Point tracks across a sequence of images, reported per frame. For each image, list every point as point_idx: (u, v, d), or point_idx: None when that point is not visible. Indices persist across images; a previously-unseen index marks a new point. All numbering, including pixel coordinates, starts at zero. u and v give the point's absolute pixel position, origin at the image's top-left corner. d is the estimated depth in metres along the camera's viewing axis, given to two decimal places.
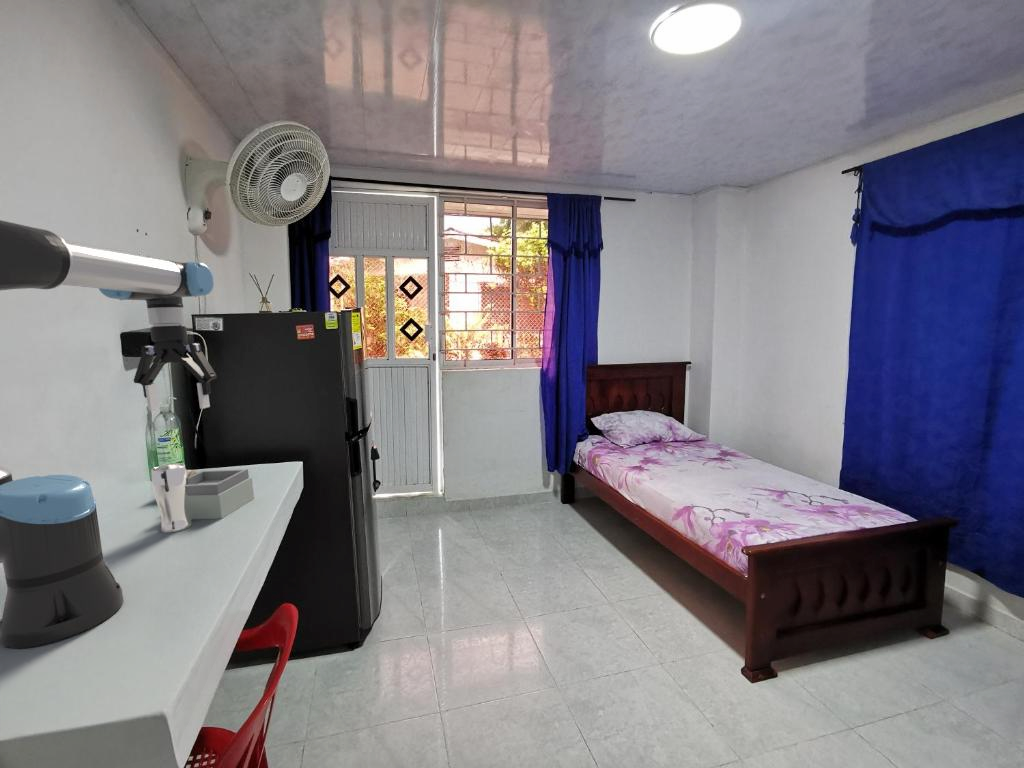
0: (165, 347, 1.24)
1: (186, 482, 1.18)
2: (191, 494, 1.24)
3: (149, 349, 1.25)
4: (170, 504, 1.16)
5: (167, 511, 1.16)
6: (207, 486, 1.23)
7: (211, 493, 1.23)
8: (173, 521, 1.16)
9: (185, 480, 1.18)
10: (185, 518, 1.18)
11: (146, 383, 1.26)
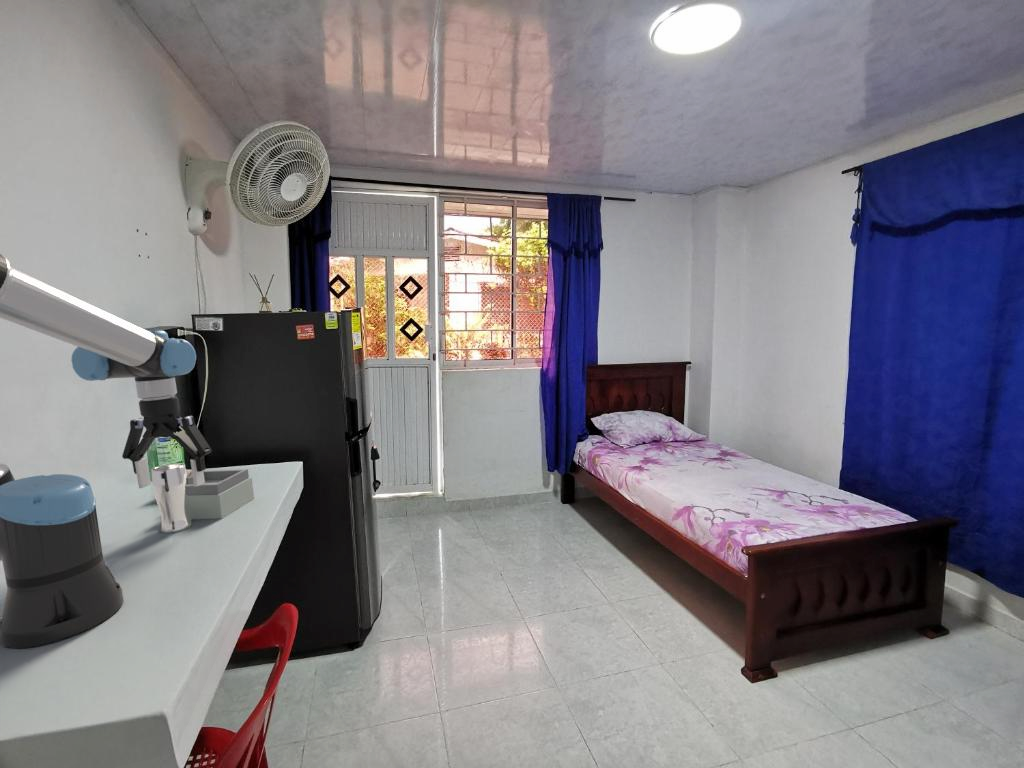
0: (155, 421, 1.15)
1: (186, 482, 1.18)
2: (191, 494, 1.24)
3: (138, 423, 1.16)
4: (170, 504, 1.16)
5: (167, 511, 1.16)
6: (207, 486, 1.23)
7: (211, 493, 1.23)
8: (173, 521, 1.16)
9: (185, 480, 1.18)
10: (185, 518, 1.18)
11: (136, 459, 1.17)
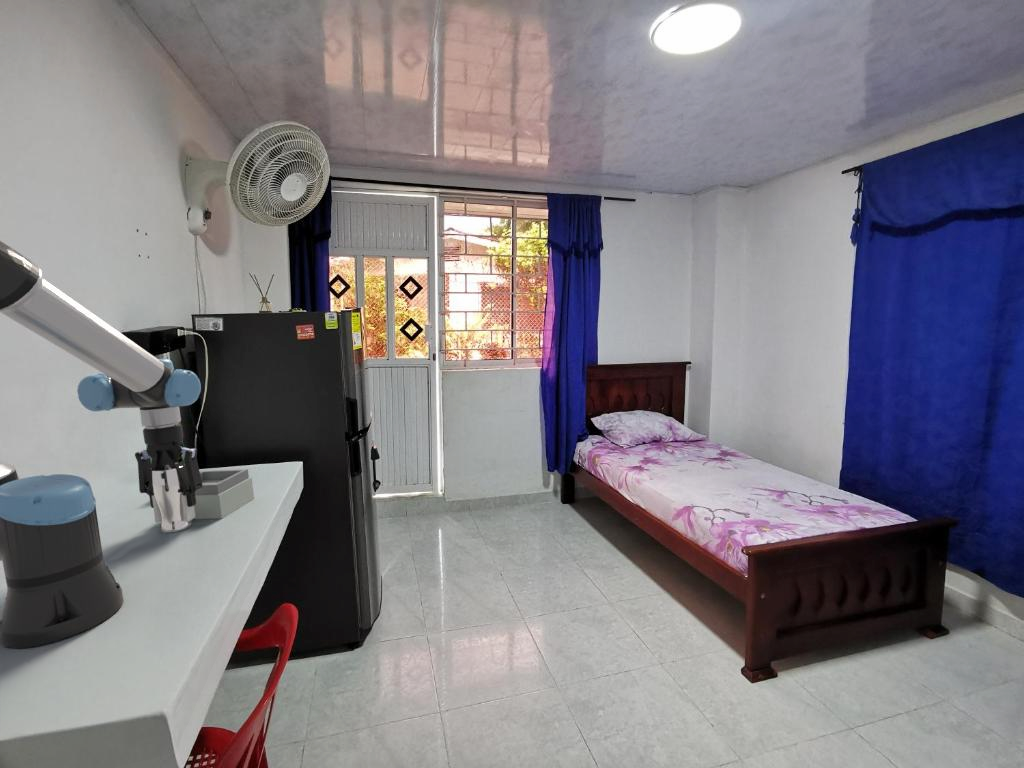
0: (157, 445, 1.15)
1: None
2: None
3: (143, 454, 1.17)
4: (170, 504, 1.16)
5: (167, 511, 1.16)
6: (207, 486, 1.23)
7: (211, 493, 1.23)
8: (173, 521, 1.16)
9: None
10: None
11: (153, 493, 1.17)
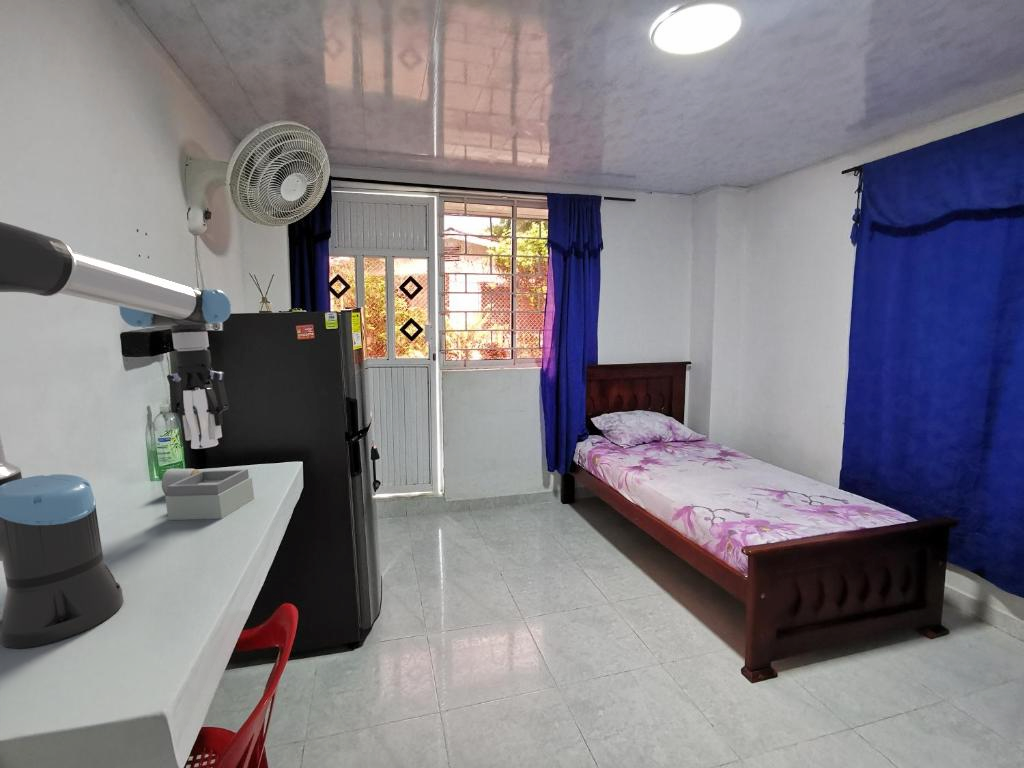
0: (188, 368, 1.25)
1: None
2: (191, 494, 1.24)
3: (174, 376, 1.26)
4: (200, 422, 1.25)
5: (197, 429, 1.25)
6: (207, 486, 1.23)
7: (211, 493, 1.23)
8: (202, 438, 1.26)
9: None
10: None
11: (183, 413, 1.27)
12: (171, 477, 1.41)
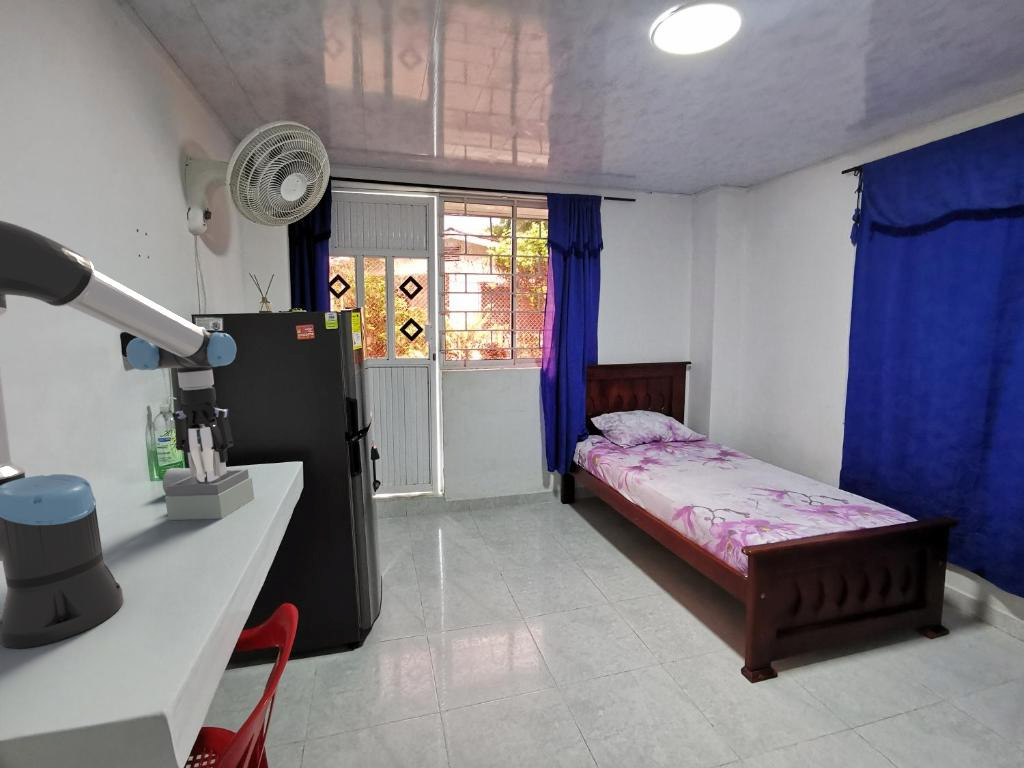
0: (193, 406, 1.26)
1: None
2: (191, 494, 1.24)
3: (180, 414, 1.27)
4: (205, 460, 1.26)
5: (202, 466, 1.27)
6: (207, 486, 1.23)
7: (211, 493, 1.23)
8: (207, 476, 1.27)
9: None
10: None
11: (188, 450, 1.28)
12: (172, 476, 1.41)
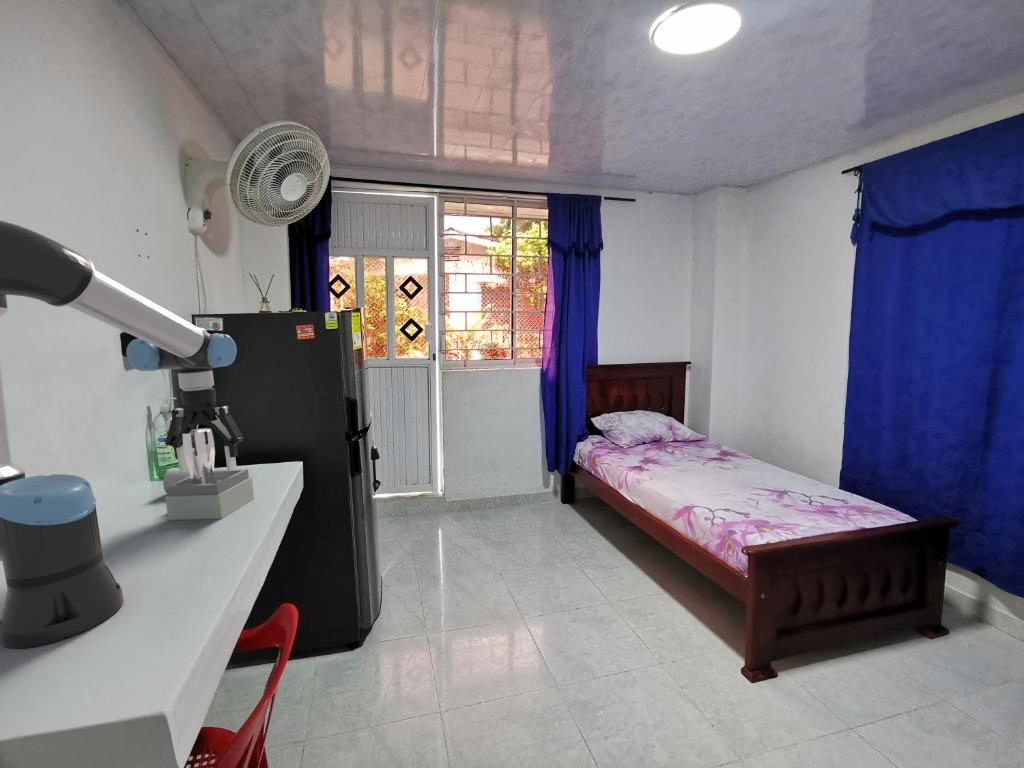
0: (194, 409, 1.26)
1: (213, 445, 1.29)
2: (191, 494, 1.24)
3: (179, 412, 1.27)
4: (199, 465, 1.26)
5: (196, 471, 1.27)
6: (207, 486, 1.23)
7: (211, 493, 1.23)
8: (201, 480, 1.27)
9: (212, 443, 1.29)
10: (212, 478, 1.29)
11: (177, 445, 1.28)
12: (173, 476, 1.42)
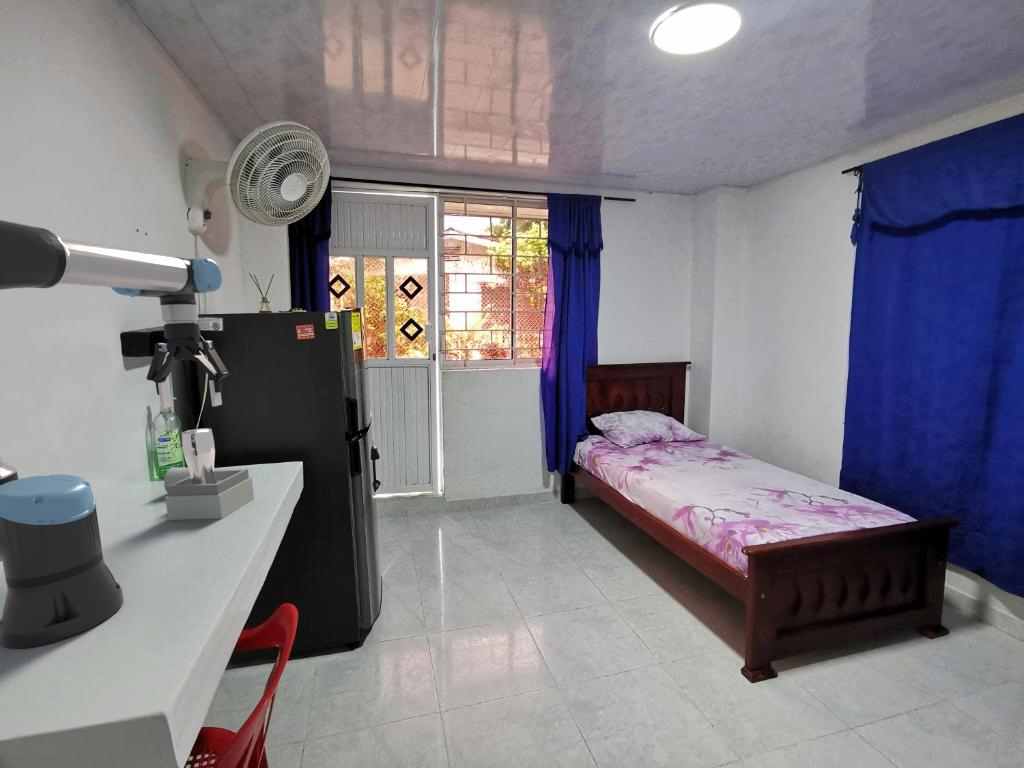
0: (178, 344, 1.24)
1: (213, 445, 1.29)
2: (191, 494, 1.24)
3: (162, 346, 1.25)
4: (199, 465, 1.26)
5: (196, 471, 1.27)
6: (207, 486, 1.23)
7: (211, 493, 1.23)
8: (201, 481, 1.27)
9: (212, 443, 1.29)
10: (212, 478, 1.29)
11: (159, 380, 1.25)
12: (173, 476, 1.42)
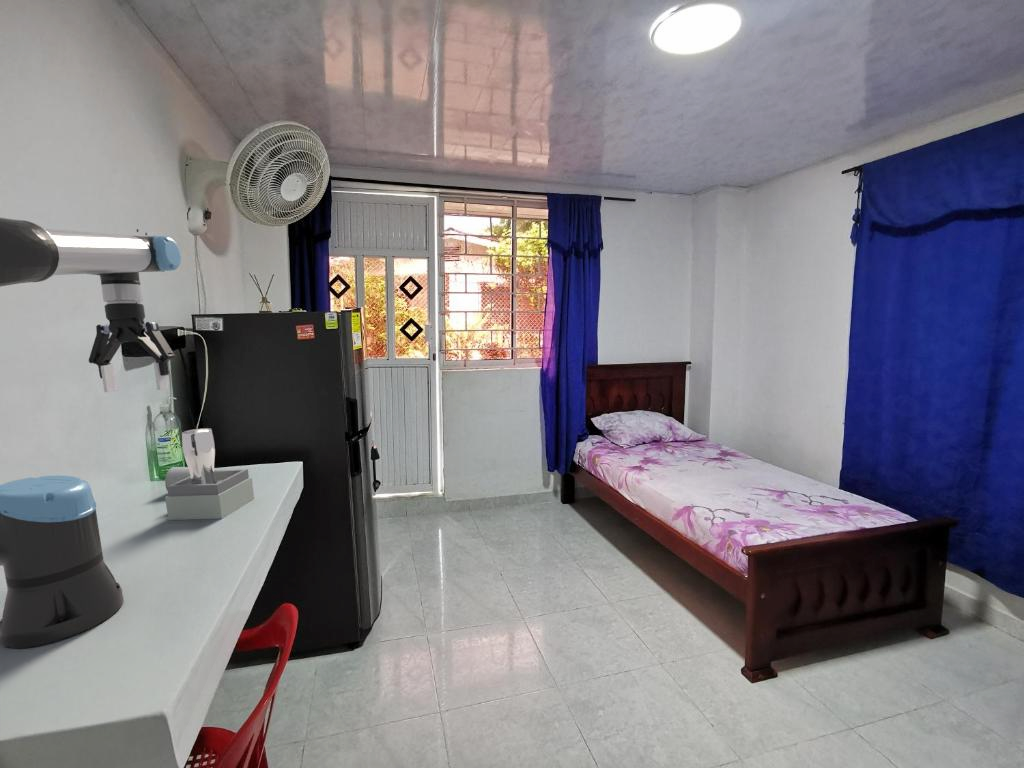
0: (121, 326, 1.19)
1: (213, 445, 1.29)
2: (191, 494, 1.24)
3: (104, 328, 1.20)
4: (199, 465, 1.26)
5: (196, 471, 1.27)
6: (207, 486, 1.23)
7: (211, 493, 1.23)
8: (201, 481, 1.27)
9: (212, 443, 1.29)
10: (212, 478, 1.29)
11: (102, 363, 1.21)
12: (174, 475, 1.43)
